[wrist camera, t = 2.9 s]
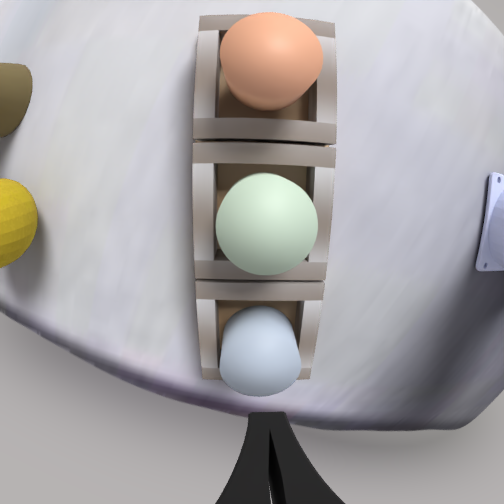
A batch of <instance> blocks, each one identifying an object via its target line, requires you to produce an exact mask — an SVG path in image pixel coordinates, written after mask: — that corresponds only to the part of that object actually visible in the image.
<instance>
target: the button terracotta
mask: <svg viewBox="0 0 504 504" xmlns="http://www.w3.org/2000/svg"><path fill="white" fill-rule="evenodd" d="M220 60H221V65H222V68H223V72H224V76H225V80H226V83H227V86H228V88H229V90H230V92H231V93H232V95H233V96H234V97H235V98H236V99H237V100H238V101H240V102H241V103H242V104H244V105H246V106H248V107H250V108H253V109H256V110H260V111H275V110H280V109H283V108H286V107H288V106H290V105H292V104H293V103H295V102H296V101H297V100H298V99H299V98H300V97H301V96H302V95H303V94H304V93H305V92H306V90H307V89H308V88H309V87H310V86H311V85H312V84H313V83H314V82H315V80H316V79H317V78H318V76H319V74H320V72H321V69H322V65H323V51H322V47H321V44H320V42H319V40H318V38H317V37H316V35H315V34H314V33H313V31H312V30H311V29H310V28H309V27H308V26H306V25H305V24H304V23H303V22H301V21H299V20H298V19H295V18H293V17H291V16H288V15H285V14H281V13H273V12H265V13H257V14H253V15H250V16H247V17H245V18H243V19H241V20H239V21H238V22H236V23H235V24H234V25H233V26H232V27H231V28H230V29H229V30H228V31H227V33H226V34H225V36H224V38H223V40H222V43H221V46H220Z"/></svg>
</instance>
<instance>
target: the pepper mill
mask: <svg viewBox="0 0 504 504" xmlns="http://www.w3.org/2000/svg"><path fill="white" fill-rule="evenodd" d="M31 93H32V76H31V73H30V70H29V69H28V68H27V67H26V66H25V65H21V64H12V63H0V137H5V136H7V135H8V134H10V133H12V132H13V131H14V130H15V128H16V127H17V126H18V125H19V124H20V122H21V120H22V119H23V117H24V115H25V113H26V111H27V108H28V105H29V103H30V98H31Z"/></svg>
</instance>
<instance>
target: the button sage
mask: <svg viewBox="0 0 504 504" xmlns="http://www.w3.org/2000/svg"><path fill="white" fill-rule="evenodd" d="M317 231H318V219H317V213H316V210H315V207H314V205H313V203H312V201H311V199H310V198H309V196H308V195H307V194H306V192H305V191H304V190H303V189H302V188H300V187H299V186H298V185H296V184H295V183H293V182H291V181H289V180H287V179H285V178H283V177H281V176H279V175H276V174H273V173H267V172H259V173H253V174H250V175H247V176H245V177H243V178H241V179H240V180H238V181H237V182H236V183H235V184H234V185H233V186H232V187H231V188H230V189H229V191H228V192H227V194H226V196H225V198H224V199H223V201H222V203H221V205H220V207H219V210H218V213H217V218H216V235H217V239H218V242H219V245H220V247H221V249H222V251H223V253H224V254H225V255H226V257H227V258H228V259H229V260H230V261H231V262H232V263H233V264H234V265H236V266H237V267H239V268H240V269H242V270H244V271H246V272H249V273H252V274H256V275H265V276H266V275H276V274H280V273H284V272H286V271H288V270H291V269H292V268H294V267H296V266H297V265H298V264H300V263H301V262H302V261H303V260H304V259H305V258H306V256H307V255H308V254H309V253H310V251H311V249H312V248H313V245H314V243H315V240H316V237H317Z"/></svg>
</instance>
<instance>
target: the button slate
mask: <svg viewBox="0 0 504 504" xmlns="http://www.w3.org/2000/svg"><path fill="white" fill-rule="evenodd" d="M300 371H301V359H300V355H299V351H298V347H297V343H296V339H295V335H294V332H293V328H292V324H291V322H290V320H289V319H288V318H287V317H286V315H285V314H283V313H282V312H281V311H279V310H277V309H275V308H272V307H269V306H261V305H258V306H250V307H246V308H243V309H241V310H239V311H237V312H236V313H235V314H233V315H232V316H231V317H230V318H229V320H228V321H227V323H226V325H225V327H224V332H223V341H222V349H221V358H220V374H221V376H222V378H223V380H224V382H225V383H226V384H227V385H228V386H229V387H230V388H232V389H233V390H235V391H237V392H239V393H241V394H244V395H249V396H258V397H260V396H269V395H273V394H276V393H279V392H281V391H283V390H285V389H287V388H288V387H289V386H291V385H292V384H293V383H294V382H295V381H296V379H297V378H298V376H299V374H300Z"/></svg>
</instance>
